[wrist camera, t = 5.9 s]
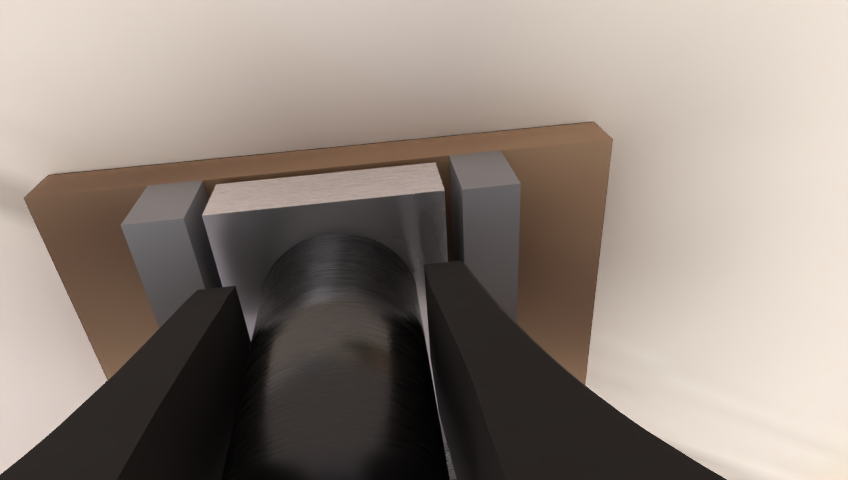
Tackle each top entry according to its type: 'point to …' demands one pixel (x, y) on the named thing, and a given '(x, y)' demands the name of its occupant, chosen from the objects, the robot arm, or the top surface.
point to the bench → (454, 155)
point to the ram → (334, 323)
